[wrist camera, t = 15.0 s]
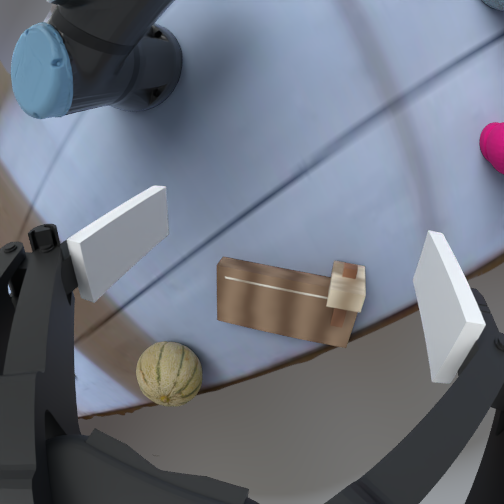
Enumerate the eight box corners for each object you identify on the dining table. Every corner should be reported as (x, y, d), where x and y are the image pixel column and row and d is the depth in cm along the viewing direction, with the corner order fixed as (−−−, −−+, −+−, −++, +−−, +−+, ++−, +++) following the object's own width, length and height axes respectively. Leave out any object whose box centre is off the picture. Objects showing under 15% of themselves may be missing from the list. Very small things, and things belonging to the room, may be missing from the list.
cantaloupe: (144, 336, 74) (111, 379, 61) (184, 321, 67) (150, 370, 54) (182, 377, 77) (156, 421, 65) (224, 368, 70) (200, 419, 58)
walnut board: (223, 310, 62) (217, 320, 59) (223, 256, 56) (216, 265, 53) (347, 336, 57) (346, 348, 54) (363, 283, 51) (363, 294, 48)
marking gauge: (323, 307, 55) (318, 339, 48) (335, 252, 49) (332, 279, 42) (351, 313, 53) (349, 344, 47) (366, 257, 48) (368, 286, 41)
